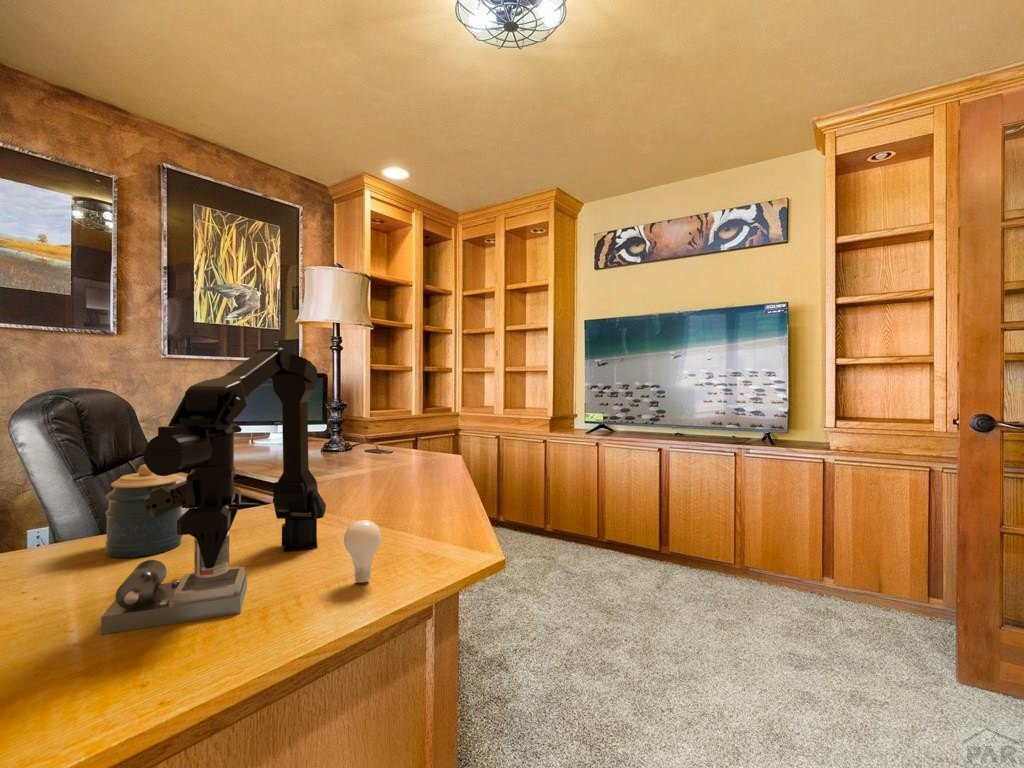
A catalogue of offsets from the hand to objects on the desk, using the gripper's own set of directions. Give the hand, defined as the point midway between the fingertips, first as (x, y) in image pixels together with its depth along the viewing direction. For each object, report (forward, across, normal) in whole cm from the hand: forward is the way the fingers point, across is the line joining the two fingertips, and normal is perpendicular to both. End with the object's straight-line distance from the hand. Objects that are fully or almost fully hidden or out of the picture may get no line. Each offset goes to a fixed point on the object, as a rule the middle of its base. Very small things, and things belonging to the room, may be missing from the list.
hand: (212, 562), depth 78 cm
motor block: (+7, 0, -4) cm, 8 cm away
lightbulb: (+7, 0, +23) cm, 24 cm away
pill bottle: (+2, 0, 0) cm, 2 cm away
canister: (+7, -35, -17) cm, 39 cm away
